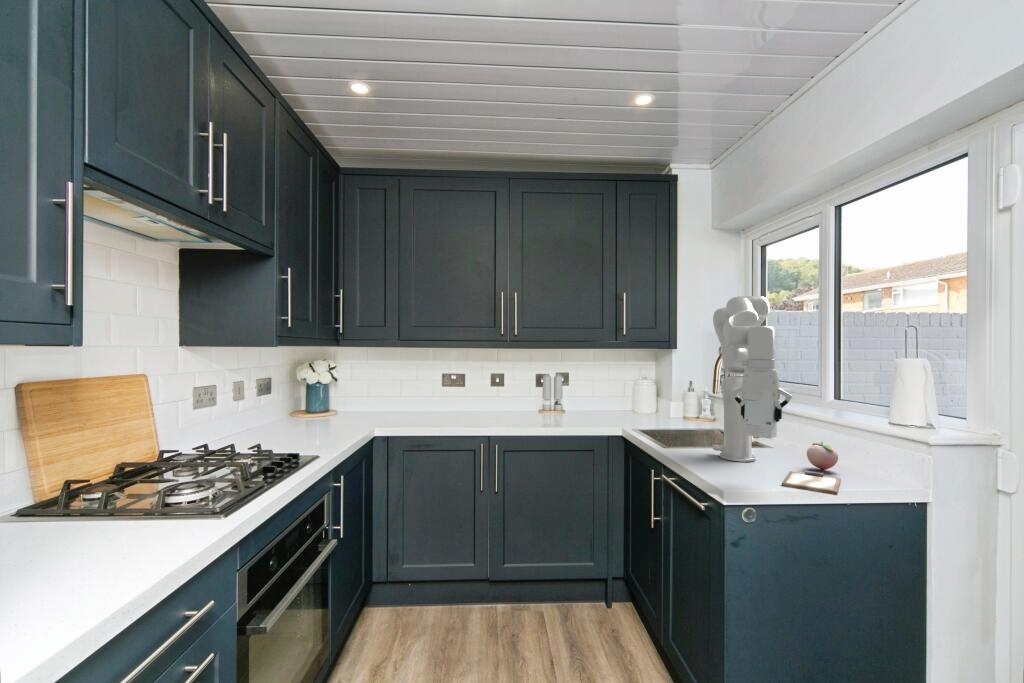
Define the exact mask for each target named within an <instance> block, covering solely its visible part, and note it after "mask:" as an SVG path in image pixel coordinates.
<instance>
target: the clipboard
mask: <svg viewBox="0 0 1024 683" xmlns="http://www.w3.org/2000/svg"><path fill="white" fill-rule="evenodd" d="M824 475H825V474H824V472H818V471H817V472H816V471H809V470H805V471H804V473H803V472H797V471H791V470H790V471H789V472H788V473H787V475H786V476H785V477H784V479H783V480H782V482H781V486H782V485H783V486H784V487H788V486H789V488H794V487H795V489H801V490H802V489H803V490H807V491H813V492H820V493H826V494H831V495H838V492H839V489H838V488H840V485H841V478H837V477H831V476H824ZM783 486H782V487H783Z"/></svg>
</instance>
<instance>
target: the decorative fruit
mask: <svg viewBox="0 0 1024 683" xmlns="http://www.w3.org/2000/svg"><path fill="white" fill-rule="evenodd" d="M806 457H807V459H808V461H809V463H810V464H811V465H812V466H814V467H815V468H817V469H819V470H821V471H826V470H828V469H831V468H833V467H834V466H836V464H837V463H838V461H839V454H838V453H837V451H836V449H834V448H833V447H831V446H830V445H823V441H821V442H820V443H819V442H814V443H812V445H811V446H809V447H808V449H807V450H806Z"/></svg>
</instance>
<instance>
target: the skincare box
mask: <svg viewBox="0 0 1024 683" xmlns="http://www.w3.org/2000/svg"><path fill="white" fill-rule="evenodd" d="M761 392H762V393H761ZM759 393H761V394H762V397H761V400H759V401H749V400H745V415H744V435H748V436H751V437H756V438H764V439H770V440H771V439H773V438H776V437H777V436H778V434H777V432H778V422H776V421H775V409H776V406H775V404H774V402H773V391H760V392H759ZM759 395H760V394H759Z"/></svg>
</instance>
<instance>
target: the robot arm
mask: <svg viewBox="0 0 1024 683" xmlns="http://www.w3.org/2000/svg"><path fill="white" fill-rule="evenodd" d="M770 311H771V309H770V303H769V300H768V299H767V298H766V297H765V296H762V295H741V296H740V295H739V296H734V297H731V298H730V299H729V300H728V301H727V303H726V305H725V307H721V308H718V309H716V310H715V311H714V313H713V315H712V323H713V328H714V331H715V334H716V335H717V339H718V341H719V343H720V350H721V359H722V367H723V370H724V372H725V373H726V374H729V375H731V376H725V378H723V379H722V381H721V384H720V389H721V396H722V401H723V403H722V404H723V444H721V445H719V444H712V450H713V451H720V453H719V457H720V458H721V459H724V460H727V461H733V462H741V463H749V462H750V463H751V462H755V461H757V456H756V455H754V454H752V436H748V435H744V415H745V400H749V401H759V400H761V397H762V394H761V393H762V392H761V393H759V392H760V391H773V402H774V404H775V406H776V409H775V421H776V422H777V423H779V422H780V421H781V420H782V419H783V415H782V414H783V413H782V412H783V410H782V409H783V408H784V407H785V406H787V404H789V402H790V401H791V399H793V395H792V394H791V393H789V392H787V391H785V390H784V389H782V388H780V380H779V375H778V374H779V373H778V369H775V328H774V327H773V326H770V325H762V324H763V323H764V321H766V320H767V318H768V316H769V314H770ZM759 394H760V395H759ZM781 395H782V396H783V397H784V400H783V401H780V396H781Z"/></svg>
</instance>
